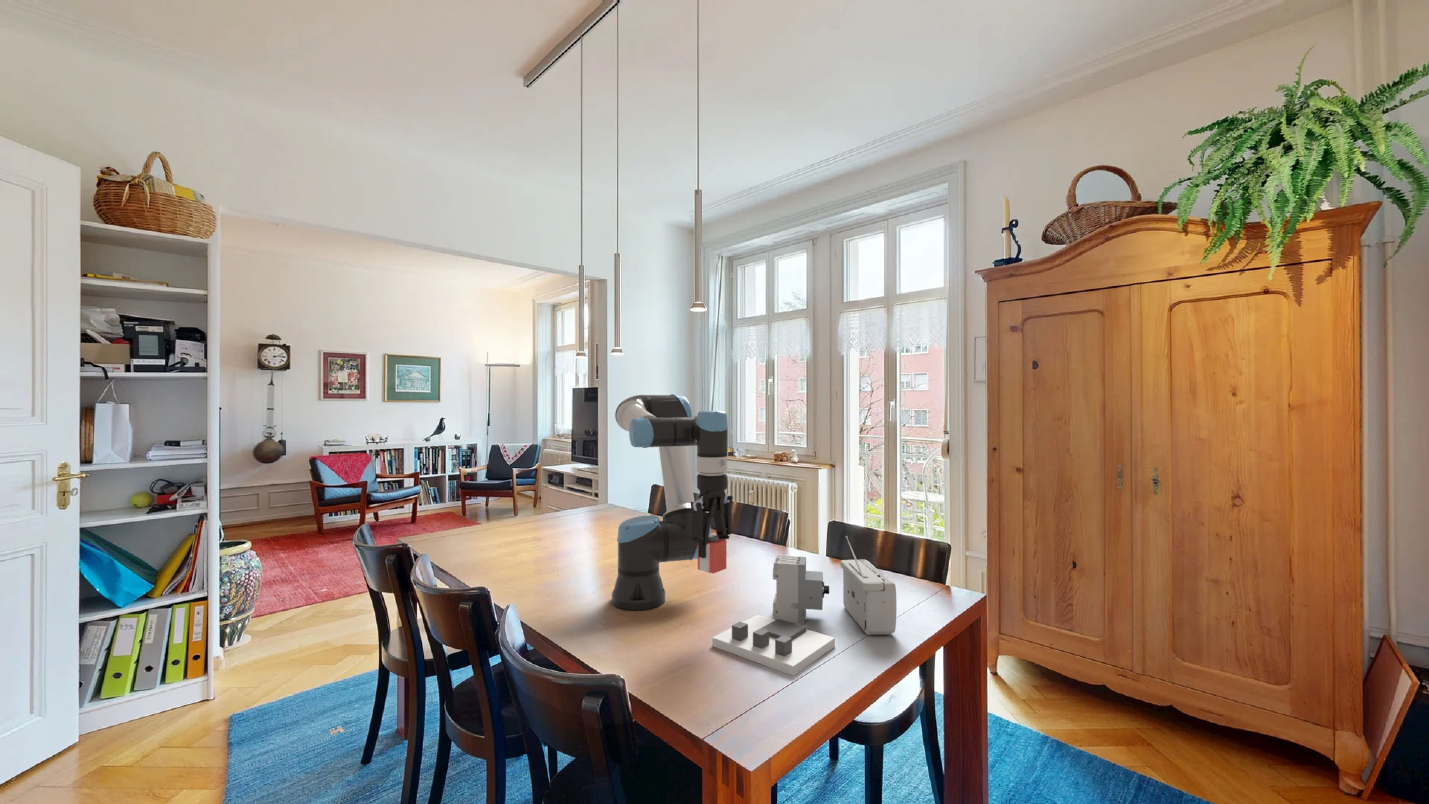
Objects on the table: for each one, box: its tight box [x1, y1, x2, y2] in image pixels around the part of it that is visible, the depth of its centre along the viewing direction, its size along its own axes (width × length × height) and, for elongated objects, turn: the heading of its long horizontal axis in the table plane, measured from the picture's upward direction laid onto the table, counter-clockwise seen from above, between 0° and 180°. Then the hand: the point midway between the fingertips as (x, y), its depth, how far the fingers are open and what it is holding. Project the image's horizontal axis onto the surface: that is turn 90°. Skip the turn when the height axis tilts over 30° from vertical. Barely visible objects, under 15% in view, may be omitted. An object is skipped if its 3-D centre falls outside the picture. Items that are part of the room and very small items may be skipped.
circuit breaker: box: [772, 554, 830, 624], centre depth 148 cm, size 8×14×15 cm, turn 78°
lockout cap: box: [697, 534, 727, 574], centre depth 139 cm, size 5×5×8 cm
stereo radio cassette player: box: [840, 535, 897, 636], centre depth 146 cm, size 21×8×20 cm, turn 4°
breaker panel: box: [711, 614, 836, 676], centre depth 131 cm, size 22×18×5 cm
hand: (712, 567), depth 139 cm, fingers closed on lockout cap, 5 cm apart
